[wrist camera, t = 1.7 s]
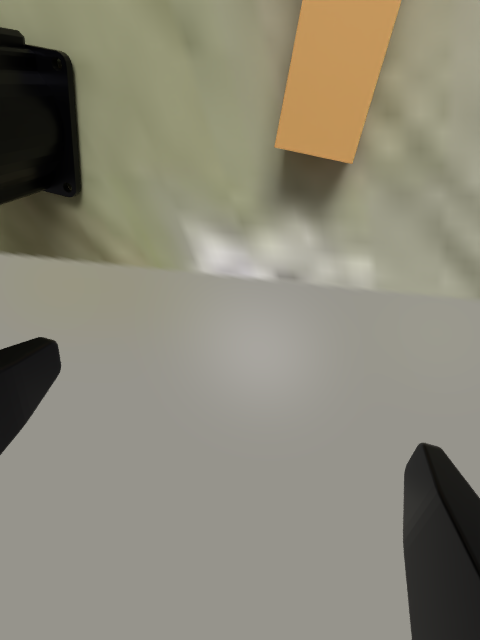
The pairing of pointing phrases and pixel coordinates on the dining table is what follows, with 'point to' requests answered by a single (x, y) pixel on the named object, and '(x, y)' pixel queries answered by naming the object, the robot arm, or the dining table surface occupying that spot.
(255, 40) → the dining table surface
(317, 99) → the plug
